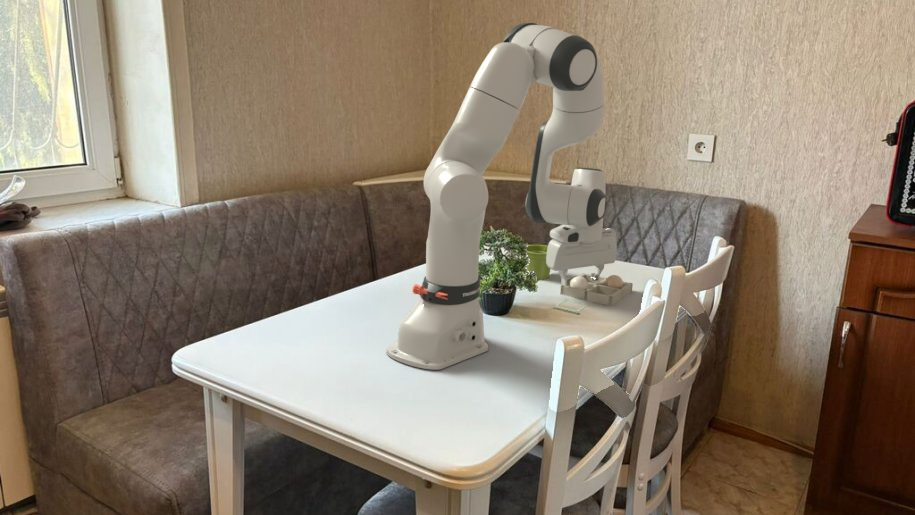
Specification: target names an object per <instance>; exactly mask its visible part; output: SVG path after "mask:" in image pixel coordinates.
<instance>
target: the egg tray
mask: <svg viewBox="0 0 915 515" xmlns="http://www.w3.org/2000/svg"><path fill="white" fill-rule="evenodd" d="M579 276H581V277H584V278H585V279H586V280H587V282H588V288H587V290H582V289H577V288H573V287H570V285H566V286H564V285H562V284H561V285H560V295H562V296H567V297H571V298H575V299H579V300H585V301H587V302H593V303H597V304H602V305H606V306H609V307H610V306H611V307H612V306H613V305H615V304H616V303H617V302H620V301H621V300H622V299H624V298H625V297H626V296H628V295H629V294H630V293H632V292H633V283H632V282H627V281H623V287H622V288H621V289H617V288H613V287H608V286H605V281H606V279H607V278H608V277H604V276H600V277H599V281H592V280H591V273H582V274H580V275H579ZM570 282H571V280H570Z"/></svg>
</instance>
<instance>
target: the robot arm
mask: <svg viewBox="0 0 915 515" xmlns="http://www.w3.org/2000/svg"><path fill="white" fill-rule="evenodd" d="M535 83H537V84H540V85H543V86H546V87H551V88H553V89H552V112H551V115H550V117H549V119H548V120H546V121H543V122H542V125H541V126H540V128H539V131H538V134H537V138H536V142H535V146H534V147H535V148H534V154H533V160H532V167H531V168H532V169H531V174H530V180H529V186H528V190H527V191H528V192H527V195H526V198H525V212H526V214H527V216H528V217H529V218H530V220H532V221H533V222H534V223H535V224H554V225H555V224H557V225H558V226H556V227H554V228H552V229H550V231H549V236H550V238H551V239H550V240H549V242H548V245H547V246H548V249H547V256H546V264H547V266H548V268H550V270H551V271H555V272H558V274H559V276H560V278H561V279H560V282H561V286H562V285H564V286H566V285H570V281H571V278H569V277H567V274H568V270H572V269H578V268H579V269H581V268H588V267H595V269H594V271H593V272H592V273H590V275H591V280H592V281H599V277H601V274H602V272H603V271H604V269H605V265H609V264H615V262H616V261H617V256H618V245H617V244H618V243H617V234H618V233H617V231H616V230H615V229H613V227H612V228H611V227H609V228H603V227H604V217H605V215H606V208H607V200H608V199H607V196H606V189H607V188H606V174H605V173H606V172H604V171H603V170H602V169H600V168H591V167H577V168H575V169H574V170H573V174H572V178H571V183H570V184H564V183H555V182H553V181H551V180H550V177H551V176H550V175H551V168H552V164H553V163H552V162H553V156H554V154H555V152H557V151H560V150H562V149H565V148H568V147H572V146H575V145H579V144H581V143H584V142H585V141H588V140H590V139H591V138H592V137H594V135H596V134H597V133H598V132H599V130H600V129H601V127H602V125H603V122H604V113H605V85H604V76H603V70H602V66H601V62H600V60H599V58H598V55H597V52H596V49H595V47H594V46H593V44H592V43H591V42H590V41H589V40H587V39H585V38H584V37H582V36H580V35H577V34H576V35H573V34H571V33H569V32H566V31H564V30H561V29H560V28H558V27H554V26H549V25H543V24H538V23H535V22H525V23H524V22H523V23H520V24H517V25H515V26H514V27H512V28H511V29H510V30H509V32H507V33H506V35H505V37H504V39H503V41H502V42H499V43H497V44H495V45H494V46H493V47H492V48H491V49H490V50H489V52H488V54H487V55H486V57H485V58H484V59H483V61H482V63H481V64H480V66H479V68H478V69H477V71H476V73H475V75H474V77H473V79H472V81H471V83H470V84H469V87H468V90H467V91H466V94H465V97H464V98H463V101H462V103H461V106H460V108H459V109H458V112H457V114H456V116H455V119H454V121H453V122H452V125H451V126H450V129H449V130H448V132H447V134H445V137H444V138H443V139H442V141H441V143H440V145H439V147H438V149H437V150H436V152H435V154H434V156H433V158H432V160H431V161H430V163H429V165H428V166H427V168H426V170H425V172H424V176H423V190H424V192H425V195H426V196H427V198H428V199H429V202H430V216H429V224H428V231H427V239H426V242H425V244H426V246H425V247H426V248H425V275H424V278H423V282H422V284H421V285H420V284H414V285H413V287H412V290H411V291H412V293H413V294H414V295H419V299H418V300H417V302H416V303H415V304H414V306H413V307H412V308H411V309H410V311H409V313H407V315H406V317H404V319H403V320H402V321H401V323H400V325H399V330H398V335H397V336H398V337H397V339H396V340H395V341H394V342H393V343H392V344H389V346H388V347H387V348H386V349H385V350H386V351H385V353H386V354H387V355H388V357H389V358H391V359H394V360H395V361H397V362H400V363H402V364H405V365H408V366H411V367H415V368H420V369H423V370H424V369H425V370H436V371H437V370H439V371H440V370H442V369H445V368H447V367H450V366H452V365H455V364H457V363H460V362H463V361H465V360H468V359H470V358H473V357H475V356H478V355H481V354H483V353H485V352H488V351H489V344H488V343H487V342H486V341H485V330H484V328H485V327H484V313H483V309H482V307H481V305H480V301H479V297H480V295H481V279H480V277H479V267H480V265H479V262H480V261H479V260H480V259H479V258H480V244H481V243H480V242H481V236H482V232H483V227H484V222H485V221H484V220H485V217H486V216H485V215H486V209H487V206H488V205H489V204H488V203H489V190H488V185H487V183H486V180H485V178H484V177H483V175H484V173H485V171H486V169H488V167H489V165H490V164H491V163H492V161H493V159H494V158H495V157H496V156H497V154H498V153H499V152H500V151H501V150H502V149H503V148H504V146H505V144H506V142H507V139H508V137H509V135H510V134H511V131H512V128H513V127H514V124H515V123H516V120H517V118H518V116H519V114H520V112H521V110H522V107H523V104H524V102H525V100H526V97H527V95H528V92H529V89H530V88H531V86H533V85H534V84H535Z"/></svg>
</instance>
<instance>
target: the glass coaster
mask: <svg viewBox="0 0 915 515" xmlns="http://www.w3.org/2000/svg"><path fill="white" fill-rule="evenodd" d="M567 301H568V302H571V303H576V304H581V305H583V306H582V307H580V308H578V309H572V308H567V307H563V306H560V305H562V304H563V303H565V302H567ZM588 306H589V304H588V303H583V302H579V301H574V300H570V299H565V298H564V299H563V300H561V301H560V302H558V303H556V304H554V307H553V309H554V310H556V311H561V312H564V313H568V314H572V315H577V316H578V315H579V314H580V311H582V310H583V309H585V308H586V307H588Z"/></svg>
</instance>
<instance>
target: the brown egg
mask: <svg viewBox="0 0 915 515" xmlns="http://www.w3.org/2000/svg"><path fill="white" fill-rule="evenodd" d="M606 278H607V279H606V281H605V286H608V287H613V288H617V289H621V288H622V287H623V282H624V281H623V279H622V277H620V276H619V275H617V274H611V275H609V276H608V277H606Z"/></svg>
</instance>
